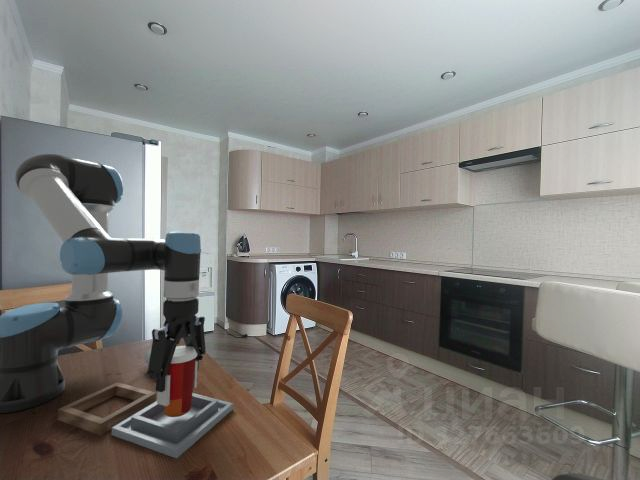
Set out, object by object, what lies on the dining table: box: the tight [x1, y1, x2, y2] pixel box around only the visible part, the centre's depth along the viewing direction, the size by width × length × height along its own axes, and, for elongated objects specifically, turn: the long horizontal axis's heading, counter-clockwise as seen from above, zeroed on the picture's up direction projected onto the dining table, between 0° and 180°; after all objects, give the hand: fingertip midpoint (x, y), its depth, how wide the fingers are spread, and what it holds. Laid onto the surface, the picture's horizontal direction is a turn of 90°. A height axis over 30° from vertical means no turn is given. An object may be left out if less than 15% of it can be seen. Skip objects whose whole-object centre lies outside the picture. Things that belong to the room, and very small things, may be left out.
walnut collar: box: [57, 381, 157, 436], centre depth 72 cm, size 14×14×2 cm
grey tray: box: [111, 392, 234, 459], centre depth 69 cm, size 18×18×3 cm
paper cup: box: [164, 345, 197, 417], centre depth 69 cm, size 8×8×14 cm
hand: (178, 394), depth 69 cm, fingers closed on paper cup, 8 cm apart
